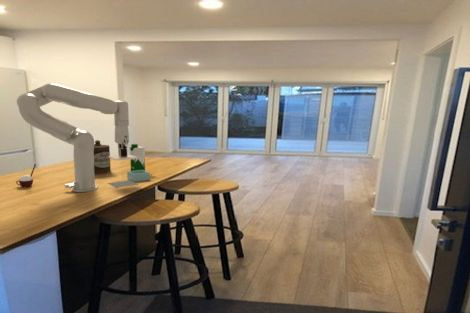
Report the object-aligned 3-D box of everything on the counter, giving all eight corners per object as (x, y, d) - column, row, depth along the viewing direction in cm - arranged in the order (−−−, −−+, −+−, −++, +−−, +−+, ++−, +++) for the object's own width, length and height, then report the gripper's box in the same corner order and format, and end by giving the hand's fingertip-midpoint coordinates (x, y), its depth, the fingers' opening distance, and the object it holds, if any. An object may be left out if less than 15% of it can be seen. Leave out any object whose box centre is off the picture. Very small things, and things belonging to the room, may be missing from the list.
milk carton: (128, 173, 205) (127, 144, 202) (140, 171, 211) (140, 143, 208) (135, 175, 199) (134, 145, 196) (147, 173, 205) (146, 144, 202)
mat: (115, 188, 164) (115, 187, 164) (107, 183, 174) (107, 183, 174) (138, 185, 173) (138, 184, 173) (129, 180, 182) (129, 180, 182)
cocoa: (15, 188, 161) (11, 166, 159) (22, 185, 167) (19, 164, 165) (33, 187, 162) (30, 166, 159) (40, 184, 168) (37, 163, 165)
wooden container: (96, 175, 195) (94, 141, 192) (82, 172, 202) (80, 140, 199) (115, 171, 208) (114, 140, 205) (101, 169, 215) (100, 138, 212)
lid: (116, 160, 163) (115, 149, 162) (108, 157, 172) (108, 146, 171) (137, 158, 171) (137, 147, 170) (129, 155, 180) (128, 145, 179)
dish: (134, 182, 179) (133, 174, 178) (127, 179, 186) (127, 171, 185) (149, 180, 185) (149, 172, 185) (142, 177, 193) (142, 169, 192)
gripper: (109, 122, 172) (111, 154, 175) (120, 124, 160) (121, 157, 163) (122, 122, 177) (123, 153, 180) (134, 123, 165) (135, 156, 168)
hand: (122, 155), depth 171 cm, fingers closed on lid, 3 cm apart
